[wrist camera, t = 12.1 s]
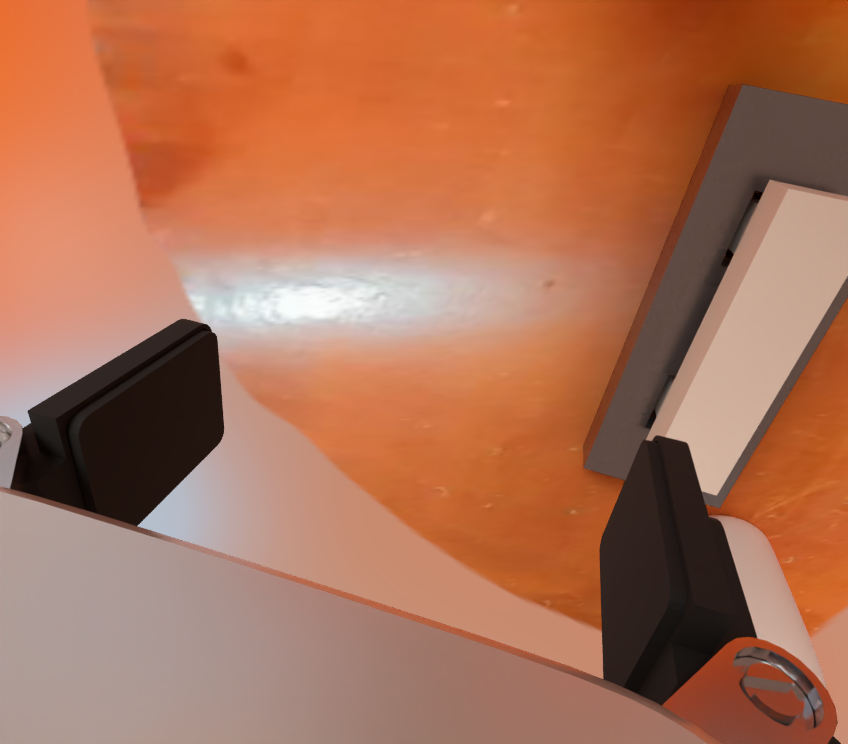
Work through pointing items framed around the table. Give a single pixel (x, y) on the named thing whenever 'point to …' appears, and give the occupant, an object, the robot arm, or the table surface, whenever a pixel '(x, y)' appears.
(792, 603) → the milk bottle
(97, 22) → the table surface
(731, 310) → the white peg bar
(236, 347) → the table surface
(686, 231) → the grey base board
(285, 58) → the table surface
